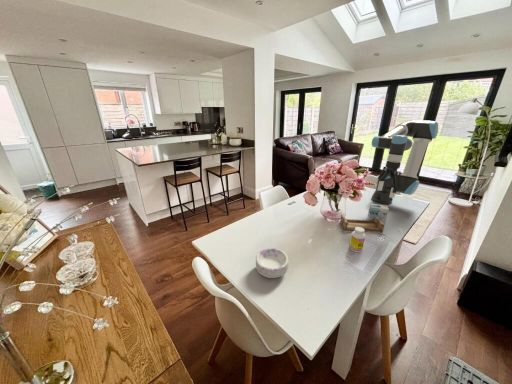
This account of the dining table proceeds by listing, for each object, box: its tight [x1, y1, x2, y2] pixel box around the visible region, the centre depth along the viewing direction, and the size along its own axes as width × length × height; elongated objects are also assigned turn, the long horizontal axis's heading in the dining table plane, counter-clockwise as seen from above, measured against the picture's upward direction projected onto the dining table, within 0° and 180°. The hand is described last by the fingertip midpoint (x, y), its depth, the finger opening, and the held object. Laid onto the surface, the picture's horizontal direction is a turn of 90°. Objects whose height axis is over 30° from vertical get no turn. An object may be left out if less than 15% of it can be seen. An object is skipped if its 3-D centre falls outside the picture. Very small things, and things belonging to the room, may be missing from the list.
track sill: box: [339, 213, 385, 234], centre depth 135 cm, size 11×22×6 cm, turn 83°
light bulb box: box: [367, 202, 390, 225], centre depth 143 cm, size 11×7×11 cm, turn 68°
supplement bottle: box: [349, 227, 366, 253], centre depth 113 cm, size 7×7×13 cm
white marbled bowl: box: [255, 247, 289, 279], centre depth 99 cm, size 15×15×8 cm
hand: (385, 193), depth 135 cm, fingers open, 13 cm apart
